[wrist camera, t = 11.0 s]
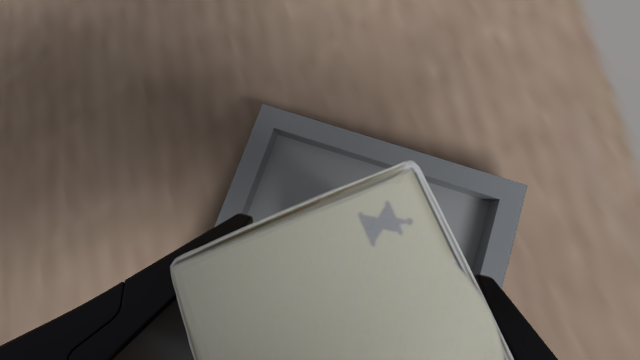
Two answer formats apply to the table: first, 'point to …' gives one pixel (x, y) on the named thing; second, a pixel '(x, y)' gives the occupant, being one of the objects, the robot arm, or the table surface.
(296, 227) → the box
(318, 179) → the tray
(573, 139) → the table surface
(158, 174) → the table surface
